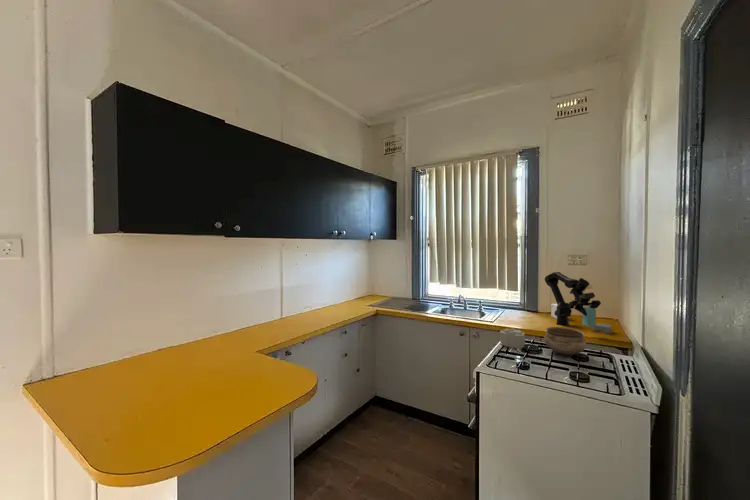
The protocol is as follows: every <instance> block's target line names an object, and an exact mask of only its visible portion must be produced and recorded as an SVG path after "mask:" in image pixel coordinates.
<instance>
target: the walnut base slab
mask: <svg viewBox="0 0 750 500" xmlns="http://www.w3.org/2000/svg"><path fill="white" fill-rule="evenodd" d="M590 332H594V333H597V334H603V335H611V334H612V333H614V328H611V330H609V331H604V330H598V329H593V327H591V328H590Z"/></svg>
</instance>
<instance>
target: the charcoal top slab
mask: <svg viewBox="0 0 750 500" xmlns="http://www.w3.org/2000/svg"><path fill="white" fill-rule="evenodd" d="M592 328H593V329H598V330H604V331H609V330H611V329H612V325H611V324H607V323H600V322H596V326H592Z"/></svg>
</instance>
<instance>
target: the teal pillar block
mask: <svg viewBox="0 0 750 500" xmlns="http://www.w3.org/2000/svg"><path fill="white" fill-rule="evenodd" d="M583 308H584V310H585V312H586V314H587V316H585V315H584V314H581V315H582V317H581V319H582V321H581V323H582V325H583V326H586V327H593V326H596V323H597V322H596V318H597V316H596V315H597V308H595V309H594V308H590V307H588V306H583Z"/></svg>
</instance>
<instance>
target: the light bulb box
mask: <svg viewBox="0 0 750 500" xmlns="http://www.w3.org/2000/svg"><path fill="white" fill-rule="evenodd" d="M556 310H557V303H551V304H550V312H551V313H550V315H551V316H550V317H551V318H554V319H556V320H557V316H556V315H555V311H556Z"/></svg>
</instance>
